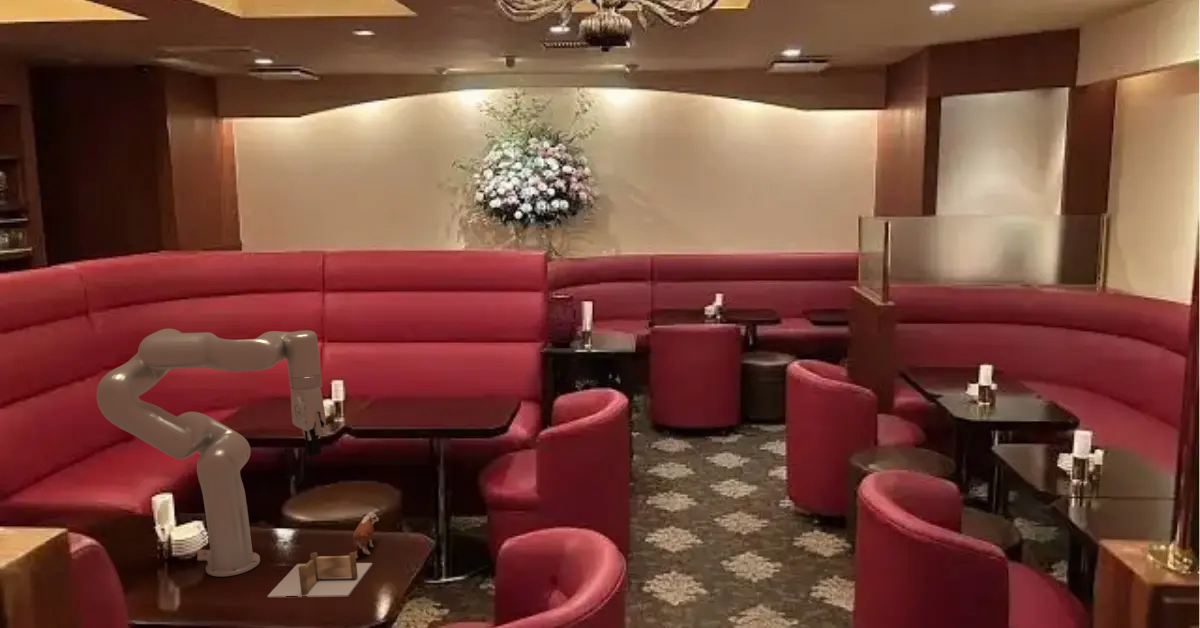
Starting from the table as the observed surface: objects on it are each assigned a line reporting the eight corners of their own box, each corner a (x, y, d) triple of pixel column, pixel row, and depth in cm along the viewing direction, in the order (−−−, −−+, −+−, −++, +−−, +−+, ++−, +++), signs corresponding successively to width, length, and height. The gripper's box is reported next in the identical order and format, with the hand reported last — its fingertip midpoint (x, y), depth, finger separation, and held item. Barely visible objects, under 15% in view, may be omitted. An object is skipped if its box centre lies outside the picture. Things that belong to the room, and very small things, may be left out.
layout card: (267, 597, 217) (267, 595, 217) (297, 565, 234) (297, 563, 234) (348, 596, 215) (347, 594, 215) (372, 564, 232) (372, 562, 232)
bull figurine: (383, 538, 248) (380, 509, 246) (366, 560, 234) (362, 529, 233) (367, 539, 248) (364, 509, 247) (348, 561, 235) (345, 529, 233)
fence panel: (311, 579, 223) (309, 555, 222) (314, 576, 225) (311, 552, 224) (356, 578, 223) (353, 553, 221) (358, 575, 224) (356, 550, 223)
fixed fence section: (300, 595, 216) (297, 568, 215) (311, 582, 223) (308, 556, 222) (306, 595, 216) (303, 568, 215) (317, 582, 223) (314, 556, 221)
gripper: (278, 380, 233) (287, 452, 236) (303, 389, 221) (311, 464, 225) (308, 374, 238) (315, 444, 241) (333, 383, 226) (341, 457, 229)
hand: (313, 454), depth 233 cm, fingers closed
